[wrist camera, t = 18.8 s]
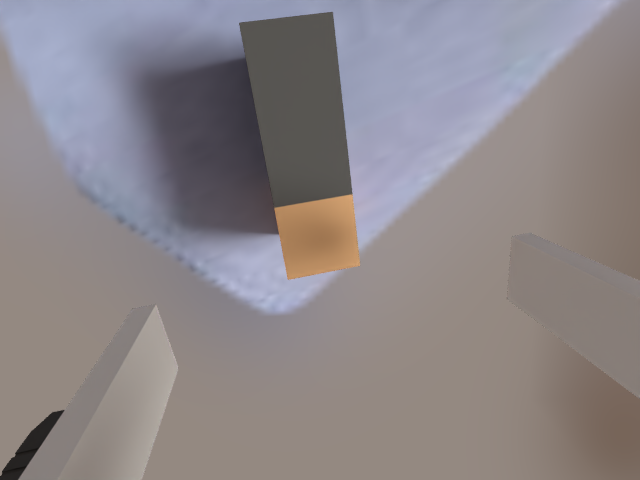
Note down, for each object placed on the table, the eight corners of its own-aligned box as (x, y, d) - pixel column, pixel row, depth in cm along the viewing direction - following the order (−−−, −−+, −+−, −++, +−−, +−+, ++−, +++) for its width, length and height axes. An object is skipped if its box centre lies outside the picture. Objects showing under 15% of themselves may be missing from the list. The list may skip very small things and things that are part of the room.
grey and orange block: (247, 57, 22) (239, 22, 14) (309, 49, 22) (332, 11, 15) (280, 234, 26) (288, 279, 18) (332, 224, 26) (360, 265, 19)
